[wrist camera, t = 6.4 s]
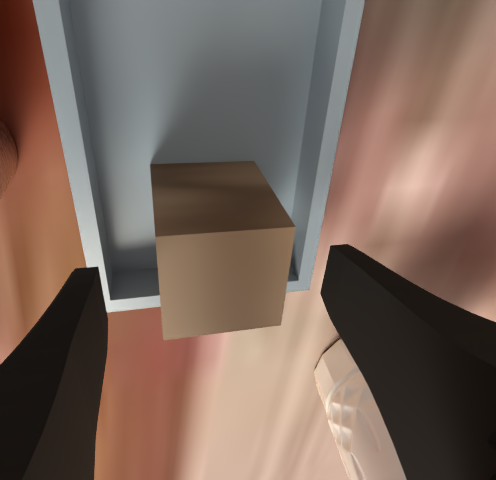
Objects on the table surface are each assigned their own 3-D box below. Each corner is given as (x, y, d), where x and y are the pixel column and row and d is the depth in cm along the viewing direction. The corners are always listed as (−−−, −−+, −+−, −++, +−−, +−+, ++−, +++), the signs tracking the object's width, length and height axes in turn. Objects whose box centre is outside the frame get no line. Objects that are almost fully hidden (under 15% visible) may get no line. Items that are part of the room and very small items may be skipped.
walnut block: (156, 252, 17) (163, 340, 13) (149, 164, 15) (155, 237, 11) (248, 244, 18) (280, 324, 14) (254, 161, 16) (296, 226, 11)
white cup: (329, 315, 23) (436, 505, 15) (437, 317, 25) (579, 480, 17) (289, 402, 27) (356, 589, 18) (386, 396, 29) (482, 558, 21)
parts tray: (100, 275, 18) (96, 313, 16) (20, -164, 10) (-8, -197, 8) (292, 258, 20) (309, 289, 18) (349, -118, 12) (391, -135, 10)
